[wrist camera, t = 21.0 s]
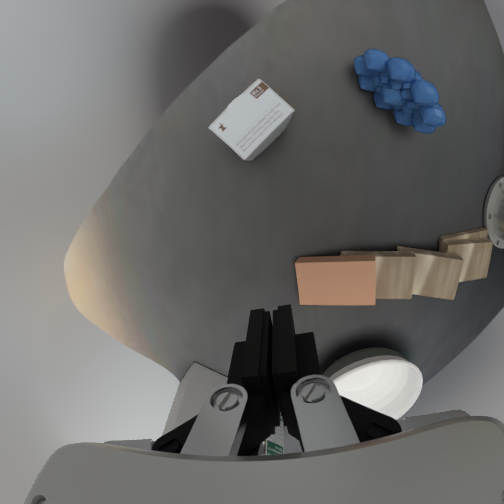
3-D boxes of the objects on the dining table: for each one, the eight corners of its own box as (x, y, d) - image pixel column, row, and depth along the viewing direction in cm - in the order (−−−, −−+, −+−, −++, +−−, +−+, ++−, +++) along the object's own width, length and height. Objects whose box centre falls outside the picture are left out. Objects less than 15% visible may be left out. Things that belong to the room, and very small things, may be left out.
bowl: (333, 416, 48) (339, 448, 40) (283, 365, 43) (286, 403, 35) (416, 370, 43) (432, 400, 36) (385, 306, 39) (406, 338, 31)
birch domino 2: (397, 245, 35) (460, 255, 31) (390, 284, 38) (451, 293, 33) (397, 250, 34) (463, 260, 30) (390, 290, 36) (453, 300, 32)
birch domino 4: (441, 240, 34) (485, 237, 33) (435, 278, 36) (479, 272, 35) (448, 245, 32) (493, 241, 31) (442, 284, 34) (486, 277, 33)
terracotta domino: (300, 304, 37) (375, 305, 33) (294, 262, 35) (375, 260, 31) (303, 297, 39) (375, 297, 34) (298, 256, 37) (375, 254, 33)
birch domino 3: (436, 235, 35) (480, 226, 34) (435, 271, 37) (478, 259, 36) (443, 239, 33) (487, 229, 32) (441, 276, 35) (484, 264, 34)
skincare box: (252, 162, 33) (245, 166, 22) (225, 137, 32) (204, 129, 21) (288, 127, 31) (299, 113, 20) (260, 102, 30) (258, 76, 19)
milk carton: (232, 378, 45) (217, 474, 27) (214, 399, 47) (197, 486, 29) (194, 360, 44) (165, 455, 26) (179, 383, 46) (150, 469, 28)
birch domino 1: (340, 250, 36) (413, 251, 33) (341, 291, 38) (409, 291, 35) (340, 256, 34) (416, 256, 31) (340, 298, 36) (411, 298, 33)
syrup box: (284, 416, 48) (286, 478, 34) (263, 428, 50) (261, 487, 36) (263, 405, 47) (261, 470, 33) (242, 417, 49) (236, 478, 35)
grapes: (424, 116, 29) (479, 109, 18) (395, 145, 31) (447, 145, 20) (367, 49, 27) (406, 14, 15) (334, 76, 29) (365, 44, 17)
